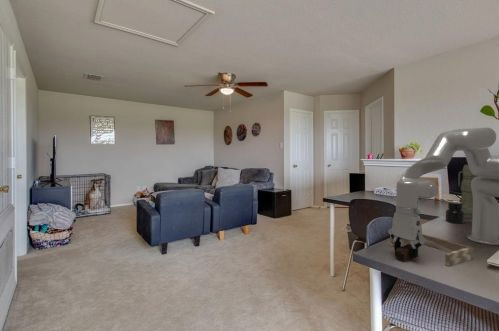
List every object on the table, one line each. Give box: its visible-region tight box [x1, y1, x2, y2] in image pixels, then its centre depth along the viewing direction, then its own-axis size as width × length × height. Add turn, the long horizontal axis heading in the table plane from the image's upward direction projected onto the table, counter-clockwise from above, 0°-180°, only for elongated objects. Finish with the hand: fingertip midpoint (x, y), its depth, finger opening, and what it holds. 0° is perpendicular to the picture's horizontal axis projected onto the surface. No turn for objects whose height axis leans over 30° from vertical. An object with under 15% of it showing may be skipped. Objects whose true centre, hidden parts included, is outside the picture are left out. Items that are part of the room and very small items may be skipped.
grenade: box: [457, 163, 478, 220], centre depth 171 cm, size 9×12×35 cm
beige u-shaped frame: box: [389, 233, 474, 267], centre depth 112 cm, size 17×24×4 cm
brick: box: [394, 243, 419, 263], centre depth 106 cm, size 11×4×5 cm, turn 120°
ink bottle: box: [445, 201, 465, 224], centre depth 160 cm, size 10×9×12 cm
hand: (405, 253), depth 106 cm, fingers open, 6 cm apart
